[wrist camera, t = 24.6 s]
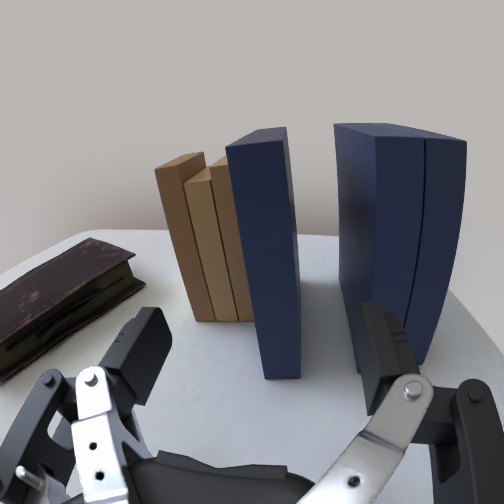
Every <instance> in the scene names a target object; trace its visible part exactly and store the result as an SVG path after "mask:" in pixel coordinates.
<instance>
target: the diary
mask: <svg viewBox="0 0 504 504" xmlns="http://www.w3.org/2000/svg"><path fill="white" fill-rule="evenodd" d="M135 255H136V254H135V253H132V252H129V251H127V250H125V249H122V248H120V247H117V246H115V245H112V244H109V243H107V242H103V241H100V240H96V239H93V238H90V237H89V238H88V239H86V240H84V241H82V242H80V243H79V244H77V245H75V246H73V247H72V248H70V249H68V250H67V251H65V252H63V253H62V254H60V255H58V256H56V257H54V258H53V259H51V260H49V261H47V262H45V263H43V264H41V265H39V266H38V267H36V268H34V269H32V270H30V271H29V272H27V273H26V274H24V275H23V276H21V277H20V278H18V279H17V280H15V281H14V282H12V283H11V284H9V285H8V286H6V287H5V288H4V289H2V290H0V381H2V380H4V379H5V378H7V377H8V376H10V375H11V374H13V373H14V372H16V371H17V370H19V369H20V368H22V367H24V366H25V365H27V364H28V363H30V362H31V361H33V360H34V359H35V358H37V357H38V356H39V355H40V354H42V353H43V352H44V351H46V350H47V349H48V348H49V347H51V346H52V345H53V344H55V343H56V342H57V341H59V340H60V339H61V338H63V337H64V336H65V335H67V334H68V333H70V332H72V331H74V330H76V329H77V328H79V327H81V326H83V325H85V324H86V323H88V322H90V321H92V320H94V319H96V318H97V317H99V316H101V315H103V314H105V313H106V312H108V311H109V310H110V309H112V308H113V307H115V306H116V305H117V304H119V303H120V302H121V301H123V300H124V299H126V298H127V297H128V296H130V295H131V294H132V293H134V292H135V291H137V290H138V289H139V288H141V287H142V286H144V285H145V284H146V283H145V282H143V281H141V280H139V279H137V278H135V277H133V275H132V272H131V269H130V266H129V264H128V261H127V260H129V259H130V258H132V257H134V256H135Z"/></svg>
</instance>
